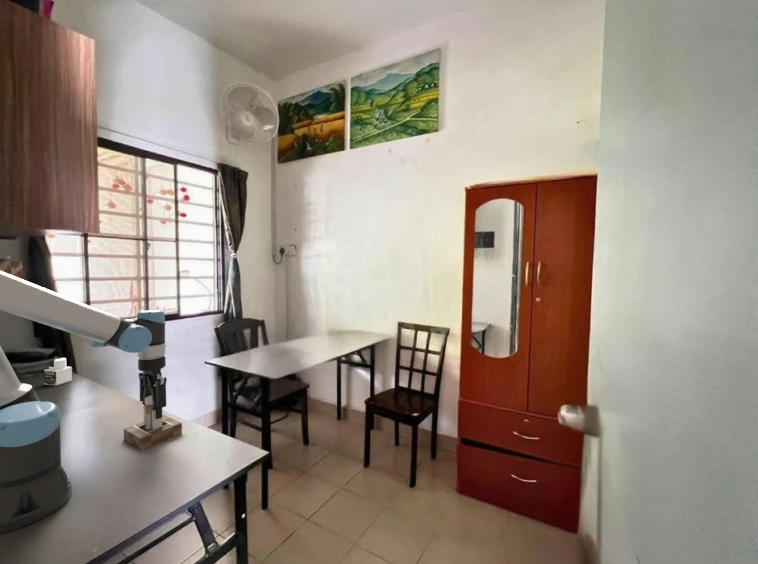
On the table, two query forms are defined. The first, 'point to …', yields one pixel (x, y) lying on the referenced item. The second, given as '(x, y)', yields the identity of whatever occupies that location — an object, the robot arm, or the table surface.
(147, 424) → the sprinkles bottle
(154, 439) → the socket
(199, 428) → the table surface
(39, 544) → the table surface
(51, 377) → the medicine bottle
